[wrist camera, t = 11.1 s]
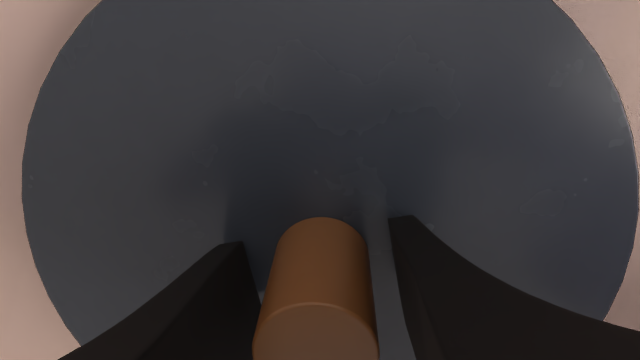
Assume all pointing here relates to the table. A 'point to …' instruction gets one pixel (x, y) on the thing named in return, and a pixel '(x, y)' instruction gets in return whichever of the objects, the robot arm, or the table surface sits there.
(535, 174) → the lid
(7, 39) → the table surface
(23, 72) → the table surface
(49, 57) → the table surface
